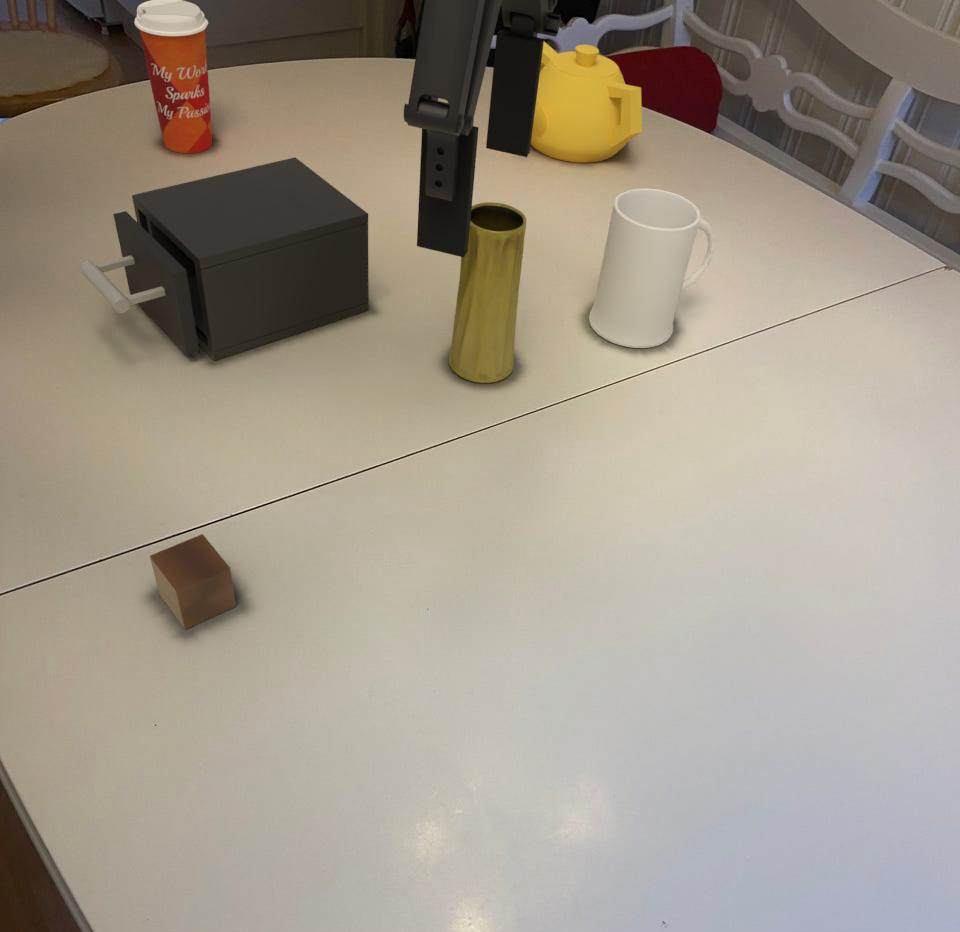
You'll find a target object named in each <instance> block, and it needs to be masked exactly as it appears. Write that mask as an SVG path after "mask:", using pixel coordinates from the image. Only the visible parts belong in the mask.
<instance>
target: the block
mask: <svg viewBox="0 0 960 932" xmlns="http://www.w3.org/2000/svg"><path fill="white" fill-rule="evenodd" d="M149 559H150V562H151V567H152V570H153V574H154V578H155V582H156V586H157V589H158V594H159V595H158V596H160V597H161V599H162V600H163V602H164V603H165V604H166V606H167V607H168V608H169V610H170V612H172V614H173V615H174V616H175V618H176V619H177V620H178V622H179V623H180V625H181V626H182V627H183V629H184V630H187V629H190V628H192V627H194V626H196V625H199V624H200V623H203V622H205V621H207V620H209V619H212V618H214V617H216V616H218V615H221V614H222V613H225V612H227V611H229V610H232V609H233V608H235V607H237V602H236V596H235V590H234V584H233V578H232V572H231V567H230V565H228V563H227V562H226V561H225V559H224V558H223V557H222V556H221V555H220V553H219V552H218V551H217V549H216V548H214V546H213V544H211V542H210V541H209V540H208V538H206V536H205V535H204V534H202V533H201V534H199V535H197V536H194V537H192V538H189V539H187V540H185V541H181V542H179V543H177V544H175V545H172V546H170V547H167V548H166V549H165V548H164V549H162V550H160V551H158V552H155V553H153V554H150V556H149Z"/></svg>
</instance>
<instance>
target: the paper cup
mask: <svg viewBox="0 0 960 932" xmlns="http://www.w3.org/2000/svg"><path fill="white" fill-rule="evenodd" d="M134 25H135V27H136V28H137V29H138V32H139V36H140V41H141V45H142V51H143V55H144V59H145V65H146V69H147V73H148V74H147V75H148V78H149V82H150V88H151V92H152V96H153V101H154V105H155V110H156V115H157V119H158V124H159V127H160V132H161V137H162V140H163V143H164V146H165V147H166V149H168V150H170V151H172V152H175V153H179V154H196V153H202V152H205V151H207V150H209V149H210V148H211V147H212V145H213V132H212V131H213V129H212V114H211V112H212V111H211V97H210V84H209V83H210V82H209V70H208V56H207V55H208V54H207V42H206V40H207V39H206V28H207V27H208V25H209V20H208V19H207V18H206V17H205V13H204V12H203V11H202V10H201V8H200V7H199V6H198V5H197V4H195V3H192V2H190V1H187V0H148V1H144V2H142V3H140V4H139V5H138V6H137V8H136V17H135V18H134Z"/></svg>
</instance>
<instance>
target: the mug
mask: <svg viewBox="0 0 960 932" xmlns="http://www.w3.org/2000/svg"><path fill="white" fill-rule="evenodd" d="M699 229H700V230H701V231H703V232H704V233H705V235H706V237H707V248H706V249H707V250H706V252H705V255H704V257H703V260H702V262H701V263H700V265H699V266H698V267H697V269H696V270H695V271H694V272H693V273H692V274H691V275H690V276H688V277H687V278H686V279H685V277H686V274H687V271H688V266H689V262H690V258H691V254H692V251H693V248H694V244H695V241H696V240H695V239H696V236H697V232H698V230H699ZM605 241H606V242H605V247H604V252H603V257H602V261H601V266H600V272H599V277H598V281H597V287H596V292H595V297H594V300H593V301H594V302H593V304H592V307H591V309H590V312H589V316H588V321H589V325H590V326H591V328H592V330H593V331H594V332H595V333H596V334H597V335H598V336H600V337H601V338H602V339H604V340H606V341H608V342H609V343H612V344H614V345H618V346H622V347H625V348H633V349H648V348H654V347H658V346H660V345H662V344H664V343H666V342H667V341H668V340H669V339H670V338H671V337H672V335H673V331H674V319H675V315H676V312H677V307H678V304H679V299H680V296H681V293H683V292H686V290H688V289H689V288H690V287H692V286H693V285H695V284H696V282H698V281H699V279H700V278H701V277H702V276H703V275H704V274H705V272H706V270H707V269H708V268H709V265H710V263H711V261H712V258H713V255H714V251H715V245H716V244H715V241H716V240H715V234H714V231H713V229H712V227H711V225H710V224H709V223H708V221H707V220H705V219H704V218H702V217H701V211H700V209H699V208H698V206H696V204H695V203H693V202H692V201H691V200H689V199H688V198H686V197H684V196H681V195H679V194H678V193H675V192H671V191H667V190H663V189H658V188H643V187H642V188H633V189H629V190H625V191H623V192H621V193H620V194H618V195H617V196H616V197H615V199H614V200H613V206H612V210H611V216H610V221H609V226H608V231H607V236H606V240H605Z"/></svg>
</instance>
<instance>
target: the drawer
mask: <svg viewBox="0 0 960 932" xmlns="http://www.w3.org/2000/svg"><path fill="white" fill-rule="evenodd" d="M112 215H113V220H114V224H115V229H116V234H117V238H118V243H119V248H120V253H121V256H122V257H118V258H114V259H112V260H107V261H104V262H100V263H95V262H93V261H91V260H86V261H83V262H82V264H81V265H80V268H79V269H80V270H79V271H80V273H81V275H82V276H83V277H84V278H86V280H87V281H88V282H89V284H90V285H92V287H94V289H95V290H96V291H97V292H98V293H99V294H100V296H102V297H103V298H104V300H105V301H106V302H107V304H109V305H110V306H111V307H112V308H113V310H115V312H116V313H118V314H125V313H127V312H128V311H129V310H130V308H131V306H133V305H137V304H138V305H139V306H140V307H141V308H142V309H143V310H144V311H145V312H146V313H147V315H148V316H149V317H151V319H152V320H153V321H154V322H155V323H156V324H157V325H158V326H159V327H160V328H161V330H162V331H164V332H165V334H166V335H167V336H168V337H169V338H170V339H171V341H173V342H174V344H176V345H177V347H179V348H180V350H181V351H182V352H183V353H184V354H185V355H186V356H187V357H188V356H191V355H193V354H197V353H200V345H199V344H198V340H197V334H196V328H195V325H196V326H197V327H198V328H199V329H200V330H201V331H202V332H203V333H204V335H205V336H206V337H207V333H206V326H205V320H204V313H203V306H202V300H201V293H200V286H199V280H198V273H197V265H196V264H195V263H194V262H193V261H192V260H191V259H190V258H189V257H188V256H187V255H186V254H185V253H184V252H182V251H181V250H180V249H179V248H178V247H177V246H176V245H175V244H174V243H173V242H172V241H171V240H170V239H169V238H168V237H167V236H166V235H165V234H164V233H163V232H162V231H161V230H160V229H159V228H157V227H156V226H155V225H154V224H153V223H152V222H151V221H150V220H149V219H148V218H147V217H146V219H147V225H148V230H149V233H148V232H147V231H146V230H145V229H144V228H143V227H142V226H141V225H140V224H139V223H138V222H137V220H136V219H134V217H132V216H131V214H129V212H128V211H127V210H124V211H121V212H120V211H119V212H116V213H113V214H112ZM122 268H124V272H125V276H126V281H127V285H128V291H129V295H125V294H123V292H122V291H121V290H120V289H119V288H118V287H117V286H116V285H115V284H114V283H113V281H111V280H110V278H108V276H107V275H106V274H105V273H107V272H110V271H114V270H118V269H122Z"/></svg>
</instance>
